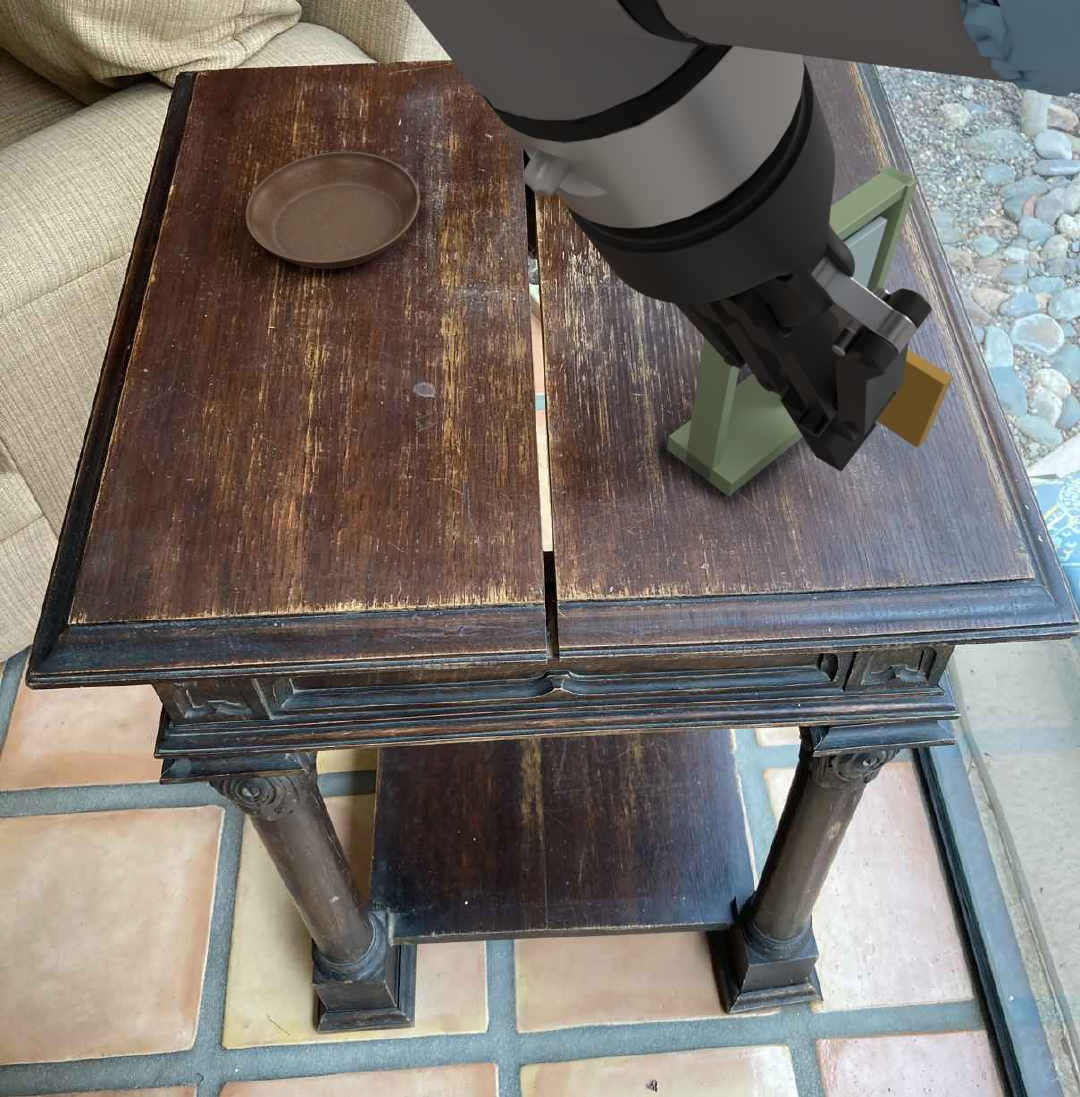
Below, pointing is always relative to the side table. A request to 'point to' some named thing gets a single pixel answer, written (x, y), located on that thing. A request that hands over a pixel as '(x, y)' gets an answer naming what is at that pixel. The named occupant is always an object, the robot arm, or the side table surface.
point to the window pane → (921, 379)
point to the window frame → (747, 408)
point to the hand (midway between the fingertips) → (845, 440)
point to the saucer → (333, 209)
